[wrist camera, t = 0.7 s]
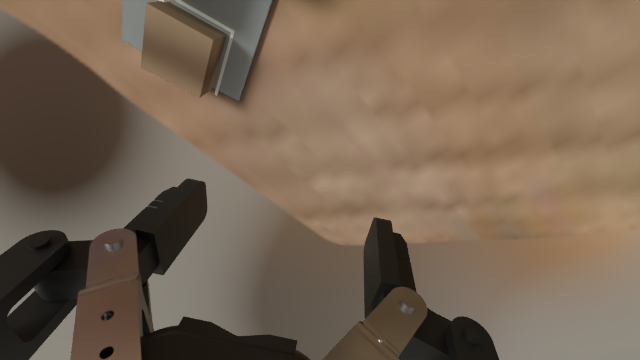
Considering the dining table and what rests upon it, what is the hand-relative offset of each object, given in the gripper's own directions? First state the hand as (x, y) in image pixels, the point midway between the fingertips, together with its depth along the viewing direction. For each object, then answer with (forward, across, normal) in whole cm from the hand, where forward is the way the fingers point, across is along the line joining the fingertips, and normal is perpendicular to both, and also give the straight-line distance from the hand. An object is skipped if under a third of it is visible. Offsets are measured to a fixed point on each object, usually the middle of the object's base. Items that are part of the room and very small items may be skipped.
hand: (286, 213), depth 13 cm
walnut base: (+19, +14, -2) cm, 24 cm away
